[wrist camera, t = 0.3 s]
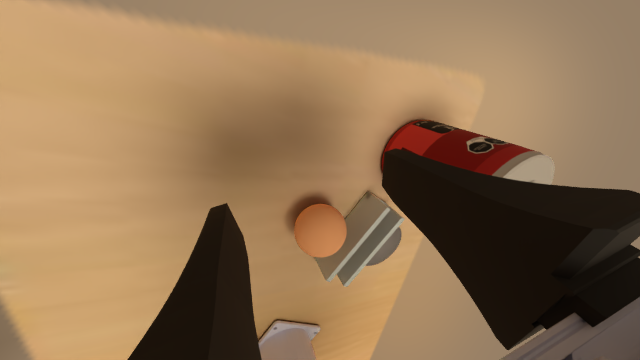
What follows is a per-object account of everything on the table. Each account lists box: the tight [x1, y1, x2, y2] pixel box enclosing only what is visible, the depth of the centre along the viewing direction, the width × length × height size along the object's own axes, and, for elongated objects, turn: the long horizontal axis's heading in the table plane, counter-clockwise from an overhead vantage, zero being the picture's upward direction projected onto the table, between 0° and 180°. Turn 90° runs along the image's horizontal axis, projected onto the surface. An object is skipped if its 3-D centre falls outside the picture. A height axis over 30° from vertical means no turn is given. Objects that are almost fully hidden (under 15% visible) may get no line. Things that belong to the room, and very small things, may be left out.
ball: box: [294, 204, 347, 257], centre depth 22 cm, size 5×5×5 cm
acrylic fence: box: [315, 191, 405, 287], centre depth 26 cm, size 10×3×4 cm, turn 140°
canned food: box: [382, 120, 555, 185], centre depth 21 cm, size 8×8×11 cm
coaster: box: [365, 227, 401, 266], centre depth 31 cm, size 7×7×1 cm
